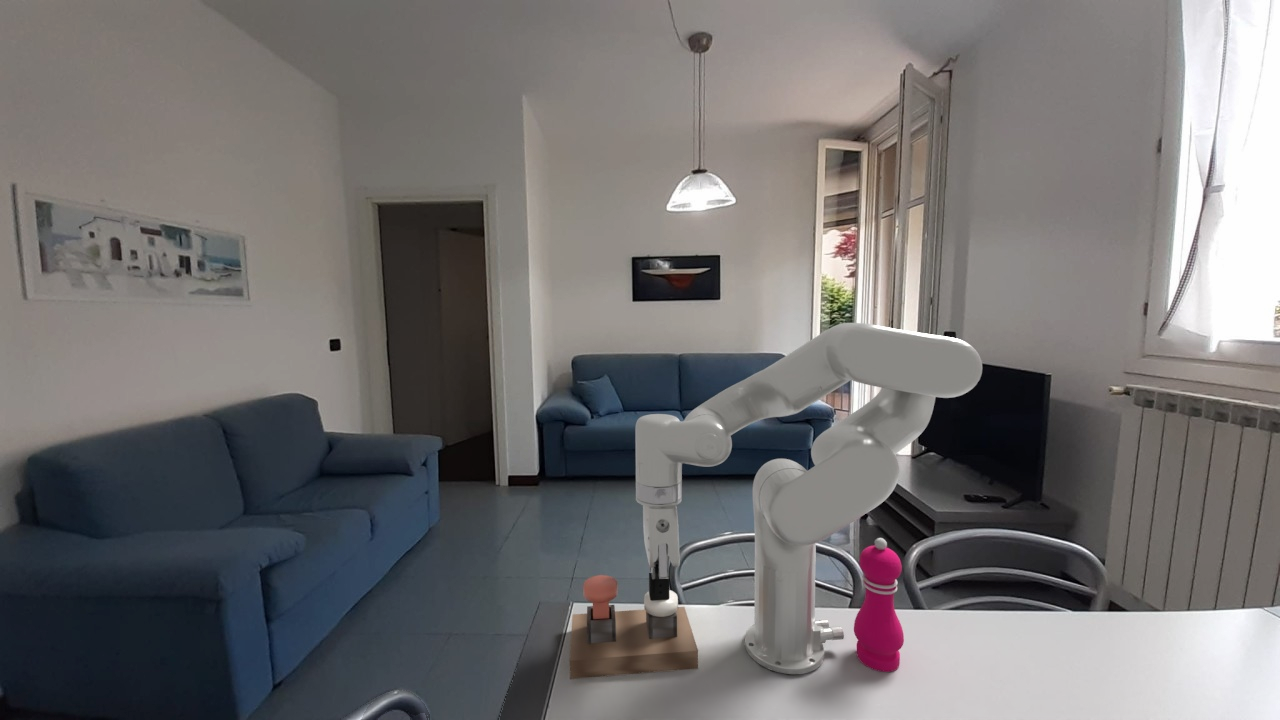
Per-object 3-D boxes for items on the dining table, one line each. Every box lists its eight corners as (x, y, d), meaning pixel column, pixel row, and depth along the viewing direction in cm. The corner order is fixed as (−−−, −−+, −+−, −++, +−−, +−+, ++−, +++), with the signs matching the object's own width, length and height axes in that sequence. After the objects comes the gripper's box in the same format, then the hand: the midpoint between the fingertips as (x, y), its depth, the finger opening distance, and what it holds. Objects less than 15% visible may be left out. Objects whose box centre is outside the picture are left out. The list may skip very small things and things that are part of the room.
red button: (617, 603, 86) (616, 574, 86) (618, 623, 80) (618, 592, 80) (584, 605, 85) (583, 576, 85) (583, 625, 80) (582, 594, 79)
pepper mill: (909, 677, 76) (913, 550, 75) (858, 671, 78) (861, 547, 76) (895, 646, 83) (898, 530, 82) (849, 641, 85) (851, 527, 83)
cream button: (675, 616, 87) (674, 587, 87) (680, 636, 82) (680, 606, 81) (643, 618, 87) (642, 589, 86) (646, 639, 81) (645, 608, 81)
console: (684, 622, 91) (684, 588, 90) (698, 668, 79) (697, 629, 78) (573, 630, 89) (572, 595, 88) (569, 679, 77) (568, 638, 77)
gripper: (690, 507, 75) (689, 623, 77) (674, 475, 90) (674, 573, 91) (640, 509, 74) (640, 626, 76) (632, 476, 89) (633, 576, 91)
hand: (659, 597), depth 84 cm, fingers closed
